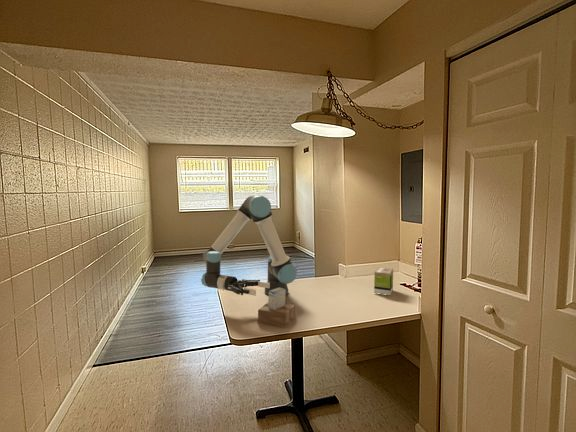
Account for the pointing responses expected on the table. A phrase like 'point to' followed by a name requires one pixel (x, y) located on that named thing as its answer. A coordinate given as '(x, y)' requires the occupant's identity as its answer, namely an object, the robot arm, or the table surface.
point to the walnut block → (276, 315)
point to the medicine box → (276, 298)
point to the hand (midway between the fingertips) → (262, 289)
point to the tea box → (383, 281)
